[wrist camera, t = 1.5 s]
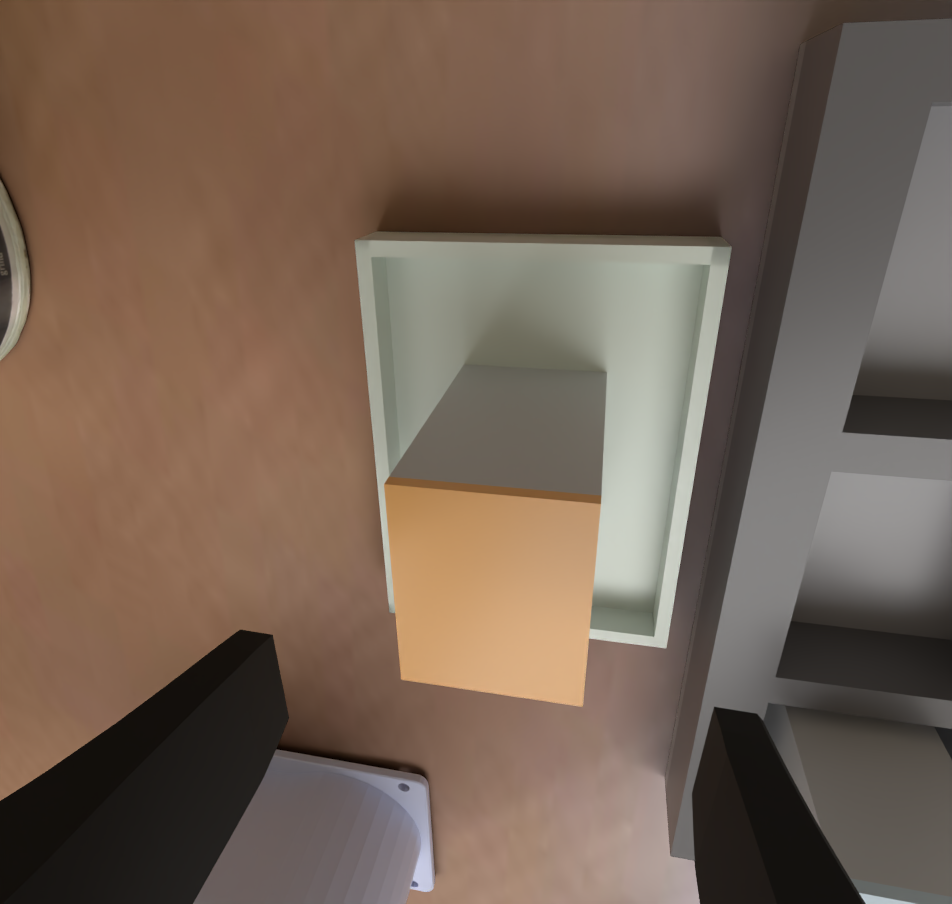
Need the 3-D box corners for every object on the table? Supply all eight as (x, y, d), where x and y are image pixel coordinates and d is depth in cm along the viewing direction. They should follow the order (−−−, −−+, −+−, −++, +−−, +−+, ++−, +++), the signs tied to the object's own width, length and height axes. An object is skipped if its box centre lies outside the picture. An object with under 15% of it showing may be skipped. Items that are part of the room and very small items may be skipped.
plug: (467, 513, 20) (401, 679, 14) (463, 364, 18) (384, 484, 12) (594, 526, 19) (582, 706, 13) (606, 372, 17) (601, 503, 11)
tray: (403, 583, 23) (389, 612, 21) (376, 231, 17) (354, 239, 16) (663, 614, 21) (666, 648, 20) (721, 236, 16) (731, 247, 14)
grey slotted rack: (664, 778, 24) (670, 856, 22) (800, 44, 14) (843, 22, 11) (922, 821, 23) (962, 910, 20) (1307, 25, 12) (1499, -5, 9)
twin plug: (744, 766, 23) (791, 1000, 17) (772, 662, 20) (837, 888, 14) (866, 785, 22) (962, 1038, 16) (909, 679, 20) (1041, 927, 14)
